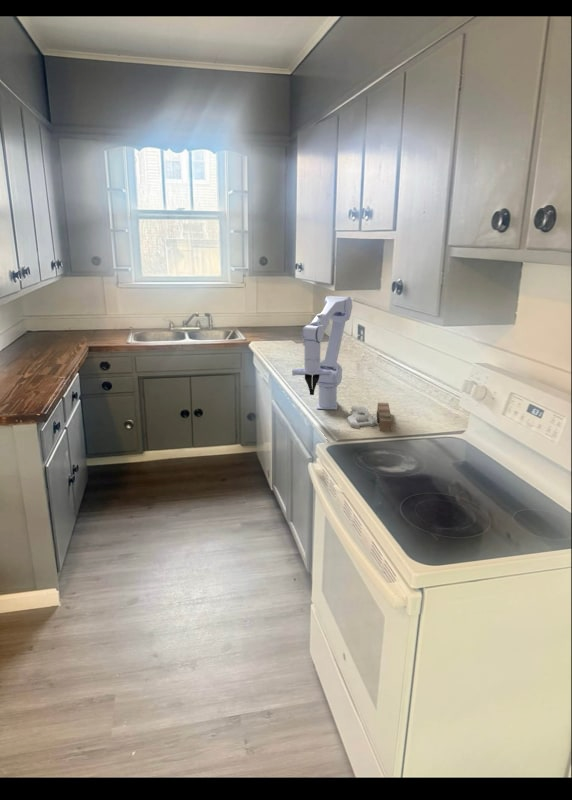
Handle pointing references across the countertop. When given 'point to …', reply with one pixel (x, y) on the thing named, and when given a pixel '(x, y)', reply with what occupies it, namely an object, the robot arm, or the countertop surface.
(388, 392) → the countertop surface
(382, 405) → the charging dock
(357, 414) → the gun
